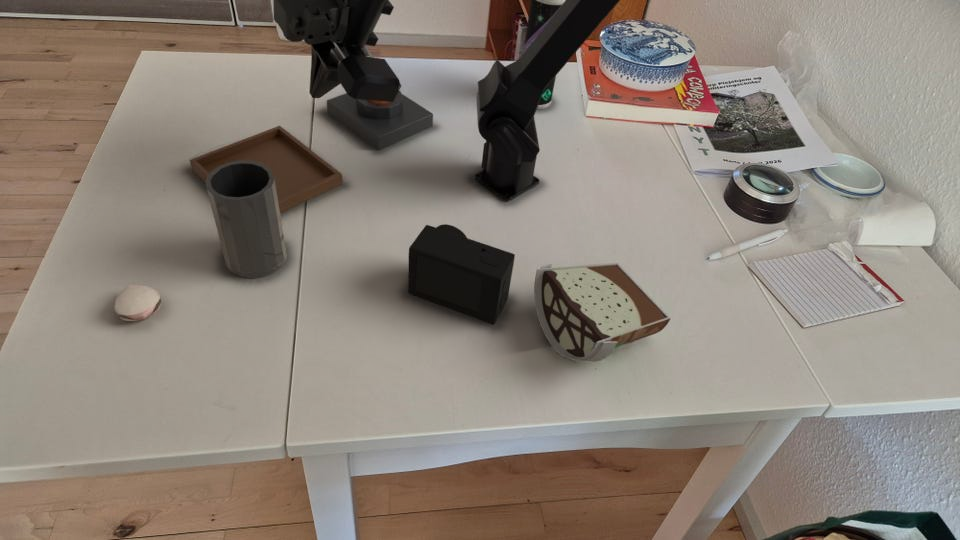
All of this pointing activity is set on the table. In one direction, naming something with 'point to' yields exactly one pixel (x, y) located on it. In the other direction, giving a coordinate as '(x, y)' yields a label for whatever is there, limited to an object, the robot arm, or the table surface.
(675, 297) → the table surface
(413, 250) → the digital camera
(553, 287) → the food container
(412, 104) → the push button switch
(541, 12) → the spray can
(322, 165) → the tray
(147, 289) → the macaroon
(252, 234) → the cup
